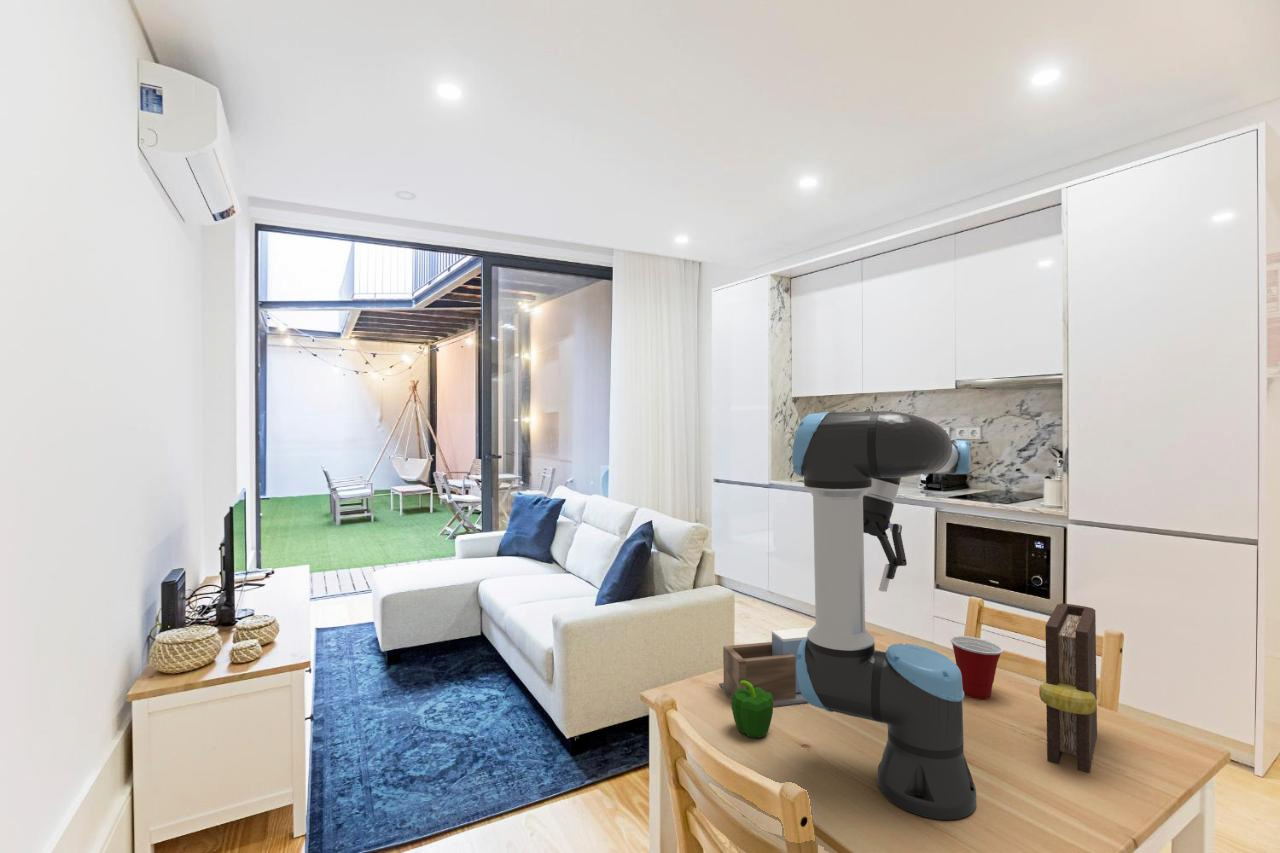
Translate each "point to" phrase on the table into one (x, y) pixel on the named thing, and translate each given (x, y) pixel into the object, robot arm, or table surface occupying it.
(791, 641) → the white box
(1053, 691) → the book
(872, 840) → the table surface
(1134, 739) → the table surface
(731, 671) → the housing
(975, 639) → the plastic cup
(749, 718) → the bell pepper
